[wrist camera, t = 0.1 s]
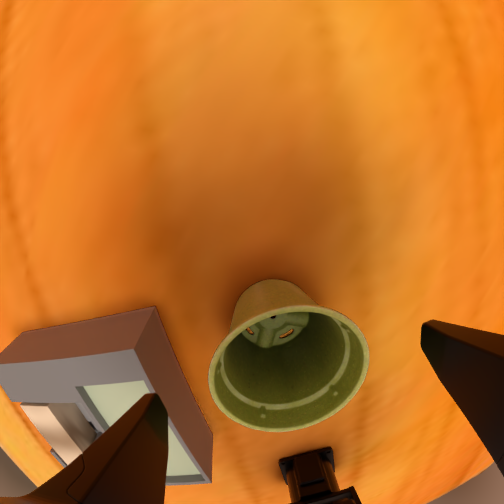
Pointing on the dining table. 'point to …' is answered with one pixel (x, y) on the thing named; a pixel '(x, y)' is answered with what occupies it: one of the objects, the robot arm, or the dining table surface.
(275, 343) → the plant pot
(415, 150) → the dining table surface
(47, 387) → the jig board
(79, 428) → the maple block
